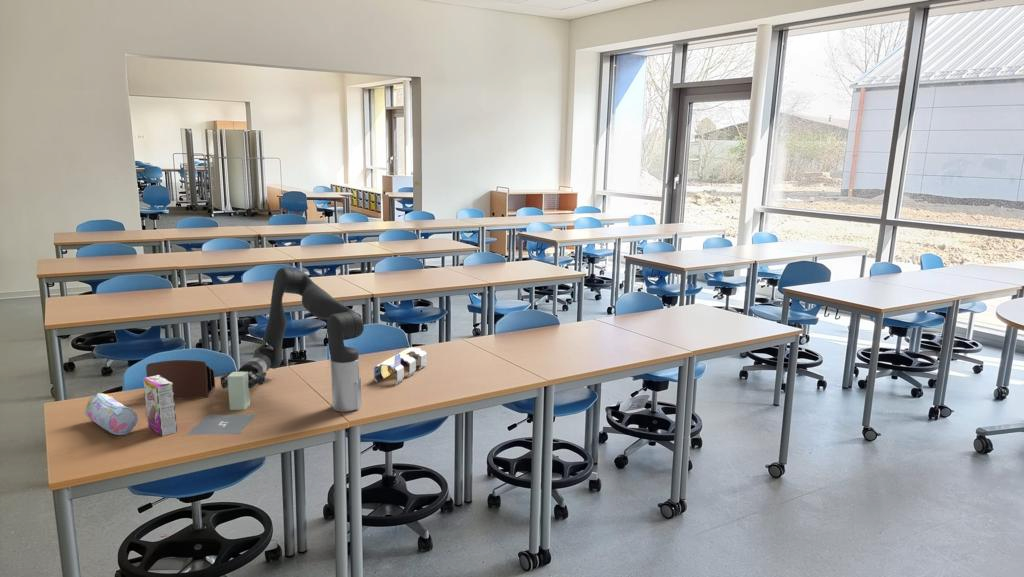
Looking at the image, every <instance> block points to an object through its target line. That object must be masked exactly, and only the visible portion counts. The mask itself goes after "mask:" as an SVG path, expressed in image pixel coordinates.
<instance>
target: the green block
mask: <svg viewBox="0 0 1024 577" xmlns="http://www.w3.org/2000/svg"><path fill="white" fill-rule="evenodd" d="M227 377H228V386H227V388H228V389H227V390H228V391H227V392H228V403H229V410H230V411H242V410H243V411H245V410H247V408H248V407H249V406H250V405H251V399H250V398H251V397H250V388H248V382H249V380H248V372H238V371H232V372H230V375H229V376H227Z"/></svg>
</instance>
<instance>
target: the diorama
mask: <svg viewBox="0 0 1024 577" xmlns="http://www.w3.org/2000/svg"><path fill="white" fill-rule="evenodd" d="M427 363H428V353H427V352H426V351H425V350H422V349H421V348H420V347H408V348H406V349H404V350H403V351H401V352H400V349H398V350H396V353H395V355H393V356H391V357H390V358H387V359H386V360H384V361H382V362H380V363H378V364H377V365H375V366H374V367H373V379H374V380H375V382H376V383H378V382H380V381H382V380H384V379H386V378H387V377H389V376H391V375H392V374H394V373H396V381H395V383H394V385H395V386H396V385H397V384H400V383H401V382H402V380H403V379H404V378H405V366H407V365H408V372H409V373H408V374H407V375H406V377H407V378H409V377H410V376H412V375H413V374H415V373H414V372H416V370H417V367H418V366H419V367H418V370H421V369H422V368H424V367H425V366H426V365H427Z"/></svg>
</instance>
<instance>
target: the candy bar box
mask: <svg viewBox="0 0 1024 577" xmlns="http://www.w3.org/2000/svg"><path fill="white" fill-rule="evenodd" d="M142 381H143V390H144V397H145V410H146V417H147V418H146V419H147V426H148V428H149V429H151V430H153V431H154V432H155V433H157V434H158V435H159V436H160V437H165V436H167V435H168V436H169V435H172V434H176V433H178V424H177V415H176V405H175V403H176V402H175V399H174V393H173V383H172V382H170V381H168V380H166V379H165V378H163V377H162V376H160V375H155V376H150V377H147V376H146V377H143V378H142Z"/></svg>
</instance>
